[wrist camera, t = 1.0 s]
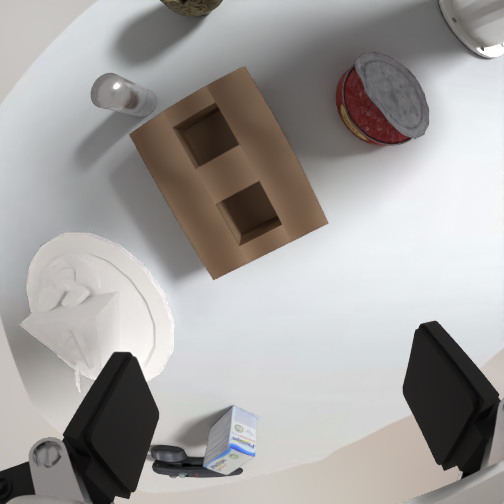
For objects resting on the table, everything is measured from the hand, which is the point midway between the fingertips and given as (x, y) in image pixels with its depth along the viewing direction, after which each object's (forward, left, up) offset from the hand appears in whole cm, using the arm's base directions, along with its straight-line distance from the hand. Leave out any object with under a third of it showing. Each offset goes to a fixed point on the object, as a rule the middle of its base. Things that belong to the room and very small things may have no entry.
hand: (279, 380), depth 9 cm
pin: (+6, -18, -25) cm, 31 cm away
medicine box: (+20, +27, -25) cm, 42 cm away
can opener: (+32, +35, -26) cm, 54 cm away
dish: (+28, +1, -26) cm, 38 cm away
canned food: (-17, -6, -26) cm, 31 cm away
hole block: (+1, -6, -25) cm, 26 cm away
